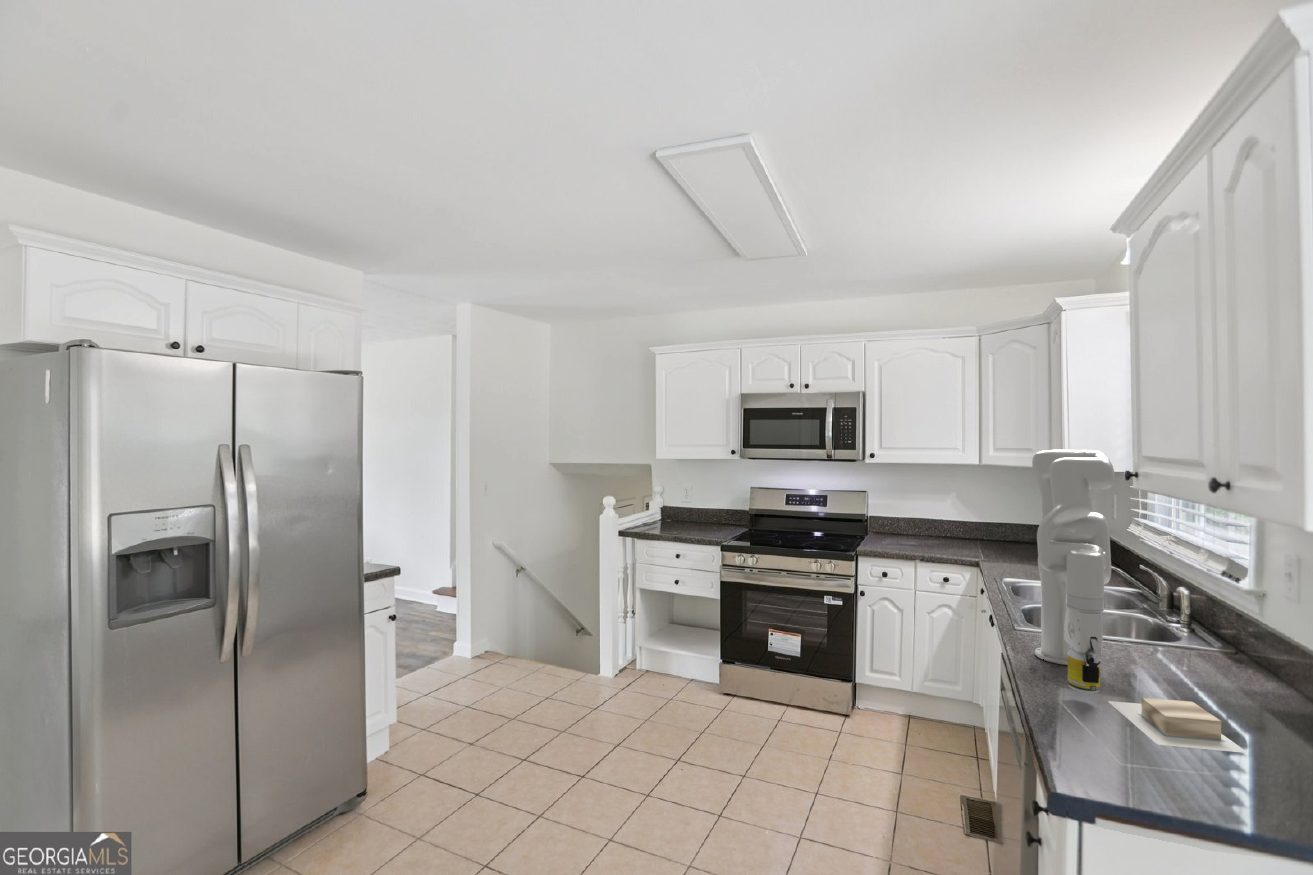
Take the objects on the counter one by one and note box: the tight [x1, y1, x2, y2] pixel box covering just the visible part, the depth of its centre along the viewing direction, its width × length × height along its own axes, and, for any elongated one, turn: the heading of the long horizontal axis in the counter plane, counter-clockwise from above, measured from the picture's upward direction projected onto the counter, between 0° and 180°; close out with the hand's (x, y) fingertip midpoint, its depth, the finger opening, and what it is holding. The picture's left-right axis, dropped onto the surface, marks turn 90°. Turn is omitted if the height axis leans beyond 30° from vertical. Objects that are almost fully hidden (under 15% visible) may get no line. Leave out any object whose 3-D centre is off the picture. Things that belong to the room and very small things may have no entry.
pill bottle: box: [1067, 648, 1101, 694], centre depth 152 cm, size 6×6×12 cm
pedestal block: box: [1141, 697, 1222, 740], centre depth 139 cm, size 10×10×4 cm
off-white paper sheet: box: [1107, 700, 1249, 754], centre depth 140 cm, size 22×16×1 cm
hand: (1083, 675), depth 152 cm, fingers closed on pill bottle, 6 cm apart
